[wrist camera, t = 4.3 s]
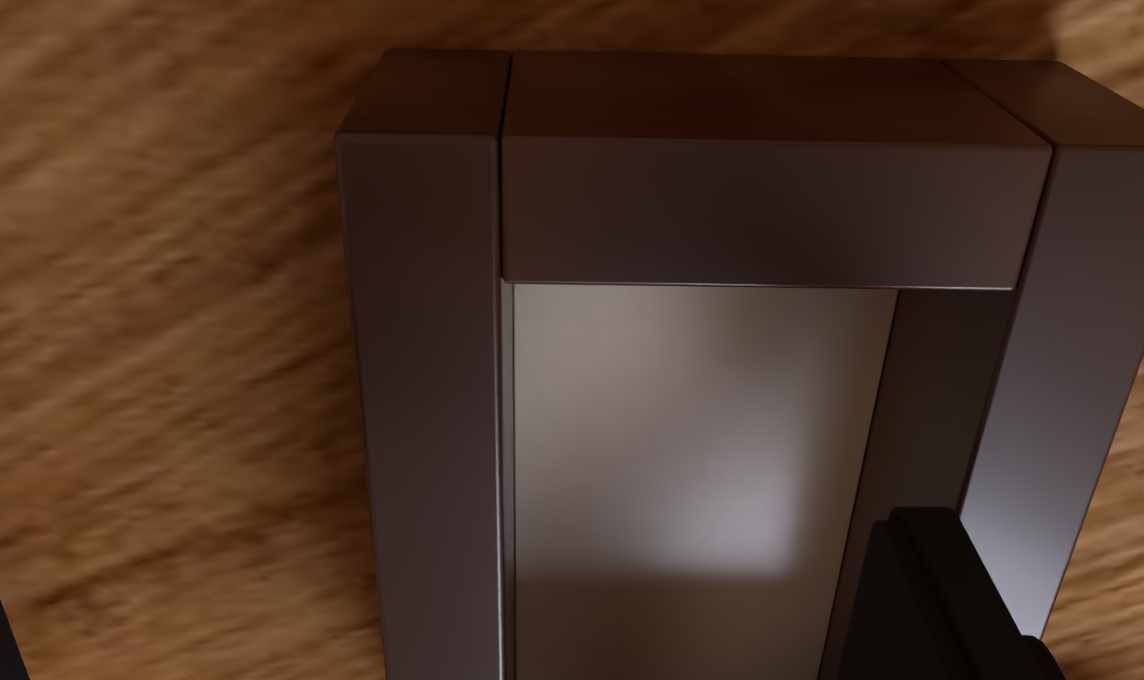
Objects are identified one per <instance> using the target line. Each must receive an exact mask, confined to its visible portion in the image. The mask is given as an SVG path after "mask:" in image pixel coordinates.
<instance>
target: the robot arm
mask: <svg viewBox="0 0 1144 680" xmlns="http://www.w3.org/2000/svg"><path fill="white" fill-rule="evenodd" d="M0 680H30V679H29V676H28V674H27V671H26V668H25V665H24V663H23V660H22V657H21V655H20V652H19V649H18V646H17V644H16V641H15V638H14V636H13V633H12V630H11V628H10V625H9V622H8V619H7V617H6V614H5V611H4V609H3V606H2V603H1V600H0ZM836 680H1066V679H1065V677H1064V675H1063V673H1062V672H1061V670H1060V668H1059V666H1058V664H1057V663H1056V661H1055V659H1054V657H1053V656H1052V654H1051V653H1050V651H1049V650H1048V649H1047V647H1046V646H1045V644H1044V643H1043V642H1042V641H1040V640H1039V639H1038V638H1036V637H1035V636H1032V635H1021V633H1020V631H1019V629H1018V627H1017V625H1016V623H1015V621H1014V620H1013V618H1012V616H1011V614H1010V612H1009V610H1008V608H1007V606H1006V605H1005V603H1004V601H1003V599H1002V597H1001V595H1000V593H999V591H998V590H997V588H996V586H995V584H994V582H993V580H992V578H991V576H990V575H989V573H988V571H987V569H986V567H985V565H984V563H983V561H982V560H981V558H980V556H979V554H978V552H977V550H976V548H975V546H974V545H973V543H972V541H971V539H970V537H969V535H968V533H967V531H966V530H965V528H964V526H963V524H962V522H961V520H960V518H959V516H958V515H957V514H956V512H955V511H954V510H953V509H952V508H950V507H920V506H898V507H894V508H893V509H892V510H891V512H890V514H889V517H888V520H877V521H875V522H874V523H873V525H872V528H871V531H870V536H869V540H868V544H867V549H866V553H865V557H864V561H863V566H862V570H861V574H860V579H859V583H858V587H857V592H856V596H855V600H854V604H853V609H852V613H851V617H850V622H849V626H848V630H847V634H846V639H845V643H844V647H843V652H842V656H841V660H840V665H839V669H838V673H837V677H836Z"/></svg>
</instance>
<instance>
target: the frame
mask: <svg viewBox="0 0 1144 680" xmlns="http://www.w3.org/2000/svg"><path fill="white" fill-rule="evenodd" d="M333 145H334V155H335V165H336V175H337V185H338V196H339V206H340V216H341V226H342V236H343V247H344V257H345V267H346V277H347V287H348V298H349V308H350V318H351V328H352V338H353V349H354V359H355V369H356V379H357V389H358V400H359V410H360V420H361V430H362V440H363V451H364V461H365V471H366V481H367V491H368V502H369V512H370V522H371V532H372V542H373V553H374V563H375V573H376V583H377V593H378V604H379V614H380V624H381V634H382V644H383V655H384V665H385V675H386V680H836V677H837V673H838V669H839V665H840V660H841V656H842V652H843V647H844V643H845V639H846V634H847V630H848V626H849V622H850V617H851V613H852V609H853V604H854V600H855V596H856V592H857V587H858V583H859V579H860V574H861V570H862V566H863V561H864V557H865V553H866V549H867V544H868V540H869V536H870V531H871V528H872V525H873V523H874V522H875V521H877V520H888V517H889V514H890V512H891V510H892V509H893V508H894V507H898V506H920V507H950V508H952V509H953V510H954V511H955V512H956V514H957V515H958V516H959V518H960V520H961V522H962V524H963V526H964V528H965V530H966V531H967V533H968V535H969V537H970V539H971V541H972V543H973V545H974V546H975V548H976V550H977V552H978V554H979V556H980V558H981V560H982V561H983V563H984V565H985V567H986V569H987V571H988V573H989V575H990V576H991V578H992V580H993V582H994V584H995V586H996V588H997V590H998V591H999V593H1000V595H1001V597H1002V599H1003V601H1004V603H1005V605H1006V606H1007V608H1008V610H1009V612H1010V614H1011V616H1012V618H1013V620H1014V621H1015V623H1016V625H1017V627H1018V629H1019V631H1020V633H1021V635H1032V636H1035V637H1036V638H1038V639H1039V640H1040V641H1041V639H1042V637H1043V634H1044V631H1045V628H1046V625H1047V623H1048V620H1049V617H1050V614H1051V612H1052V609H1053V606H1054V603H1055V600H1056V598H1057V595H1058V592H1059V589H1060V586H1061V584H1062V581H1063V578H1064V575H1065V573H1066V570H1067V567H1068V564H1069V561H1070V559H1071V556H1072V553H1073V550H1074V547H1075V545H1076V542H1077V539H1078V536H1079V534H1080V531H1081V528H1082V525H1083V522H1084V520H1085V517H1086V514H1087V511H1088V508H1089V506H1090V503H1091V500H1092V497H1093V495H1094V492H1095V489H1096V486H1097V483H1098V481H1099V478H1100V475H1101V472H1102V469H1103V467H1104V464H1105V461H1106V458H1107V456H1108V453H1109V450H1110V447H1111V444H1112V442H1113V439H1114V436H1115V433H1116V430H1117V428H1118V425H1119V422H1120V419H1121V417H1122V414H1123V411H1124V408H1125V405H1126V403H1127V400H1128V397H1129V394H1130V391H1131V389H1132V386H1133V383H1134V380H1135V378H1136V375H1137V372H1138V369H1139V366H1140V364H1141V361H1142V358H1143V355H1144V109H1143V108H1141V107H1140V106H1138V105H1136V104H1134V103H1133V102H1131V101H1129V100H1127V99H1126V98H1124V97H1122V96H1120V95H1119V94H1117V93H1115V92H1113V91H1111V90H1110V89H1108V88H1106V87H1104V86H1103V85H1101V84H1099V83H1097V82H1096V81H1094V80H1092V79H1090V78H1088V77H1087V76H1085V75H1083V74H1081V73H1080V72H1078V71H1076V70H1074V69H1073V68H1071V67H1069V66H1067V65H1066V64H1064V63H1062V62H1055V61H1007V60H958V59H945V60H941V61H940V62H939V61H937V60H935V59H902V58H854V57H805V56H756V55H707V54H659V53H610V52H561V51H516V52H514V54H513V56H512V57H511V55H510V53H508V52H506V51H492V50H444V49H395V48H390V49H388V50H386V51H385V52H384V53H383V55H382V57H381V58H380V60H379V62H378V63H377V65H376V66H375V68H374V70H373V71H372V73H371V75H370V76H369V78H368V80H367V81H366V83H365V85H364V86H363V88H362V89H361V91H360V93H359V94H358V96H357V98H356V99H355V101H354V103H353V104H352V106H351V108H350V109H349V111H348V112H347V114H346V116H345V117H344V119H343V121H342V122H341V124H340V126H339V127H338V129H337V131H336V132H335V135H334V138H333Z"/></svg>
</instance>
